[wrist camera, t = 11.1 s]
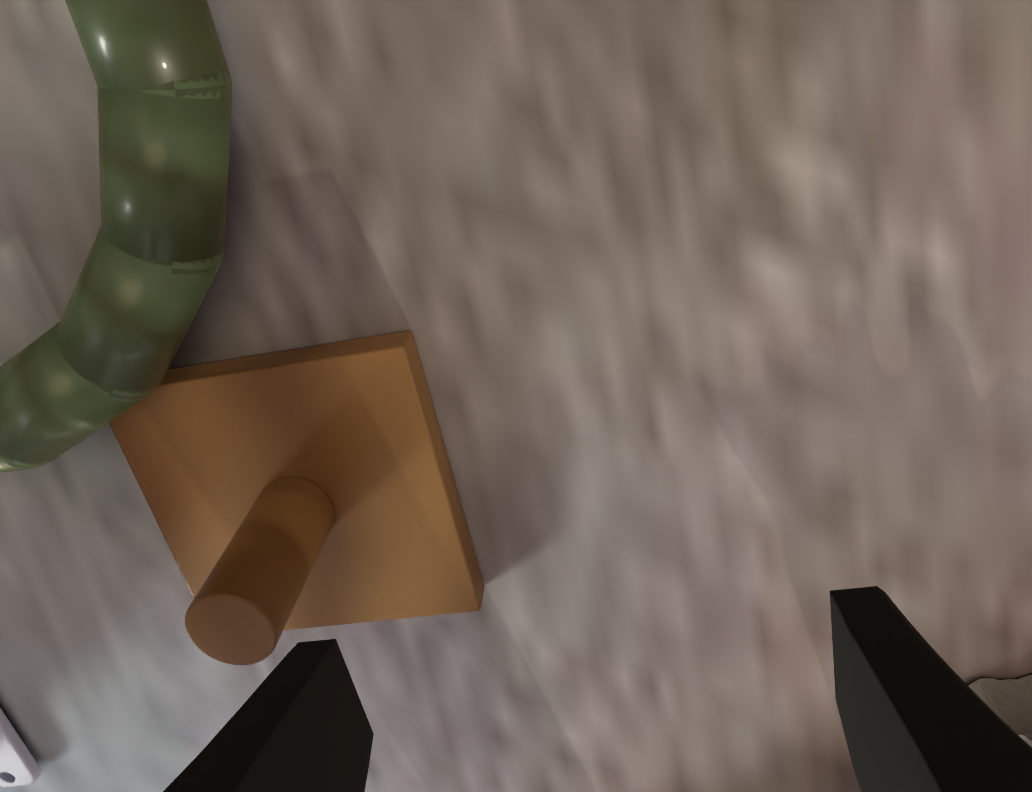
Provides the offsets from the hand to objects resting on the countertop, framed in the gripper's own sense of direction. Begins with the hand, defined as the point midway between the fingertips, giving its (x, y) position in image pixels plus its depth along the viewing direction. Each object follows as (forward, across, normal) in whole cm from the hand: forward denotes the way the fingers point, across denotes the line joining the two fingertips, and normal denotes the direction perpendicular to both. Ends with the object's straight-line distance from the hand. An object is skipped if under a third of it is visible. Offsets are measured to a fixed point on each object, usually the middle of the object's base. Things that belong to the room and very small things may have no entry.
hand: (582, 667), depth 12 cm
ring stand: (+9, +8, +2) cm, 13 cm away
